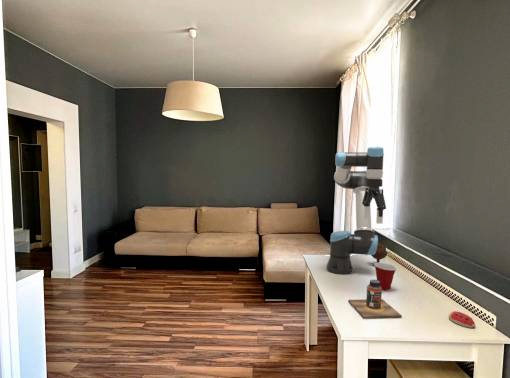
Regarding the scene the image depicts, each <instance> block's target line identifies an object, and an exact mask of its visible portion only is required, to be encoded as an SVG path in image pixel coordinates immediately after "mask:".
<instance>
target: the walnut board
mask: <svg viewBox="0 0 510 378" xmlns="http://www.w3.org/2000/svg"><path fill="white" fill-rule="evenodd" d="M366 299H367V298H365V299H364V298H363V299H348V300H347V301H348V303H349V304H350V305H351V307H352V306H353V307H354V308H353V307H352V308H353V309H354V310H355V311H356V312H357V313H358V314H359V316H360V317H361V318H362V319H363V320H368V319H369V320H371V319H373V320H374V319H401V318H402V317H403V316H402V314H401V313H400V312H398V311H397V310H396V309H395V308H394V307H393V306H391V305H390V304H389V303H388V302H386V301H385V300H384V299H383V298H381V308H379V309H372V308H369V307H368V306H367V305H366Z"/></svg>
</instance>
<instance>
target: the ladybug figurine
mask: <svg viewBox="0 0 510 378" xmlns="http://www.w3.org/2000/svg"><path fill="white" fill-rule="evenodd" d="M448 319H449V320H450V321H452V323H454V324H457V325H459V326H461V327H464V328H471V329H473V328H476V322H475V320H474V319H473V318H472V317H471V316H470V315H468V314H466V313H463V312H460V311H457V310H454V311H451V312H450V313H449V315H448Z"/></svg>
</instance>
